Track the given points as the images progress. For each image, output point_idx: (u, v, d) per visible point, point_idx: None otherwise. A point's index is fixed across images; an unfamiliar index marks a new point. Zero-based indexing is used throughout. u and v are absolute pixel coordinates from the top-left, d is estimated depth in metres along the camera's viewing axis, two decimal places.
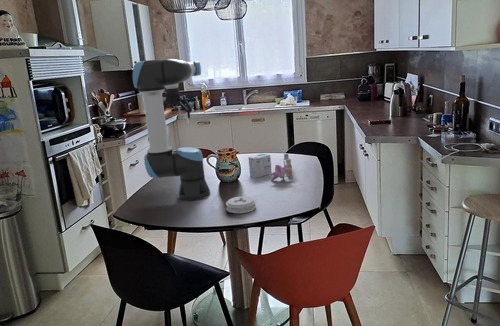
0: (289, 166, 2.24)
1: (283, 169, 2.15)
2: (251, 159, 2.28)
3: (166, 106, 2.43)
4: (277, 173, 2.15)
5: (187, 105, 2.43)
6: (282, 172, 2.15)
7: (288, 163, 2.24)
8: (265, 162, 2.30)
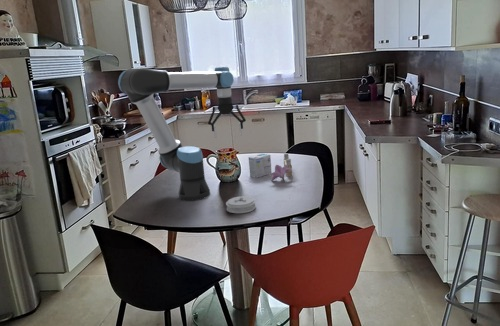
0: (289, 166, 2.24)
1: (283, 169, 2.15)
2: (251, 159, 2.28)
3: (218, 116, 2.27)
4: (277, 173, 2.16)
5: (240, 115, 2.27)
6: (282, 172, 2.16)
7: (288, 163, 2.24)
8: (265, 162, 2.30)
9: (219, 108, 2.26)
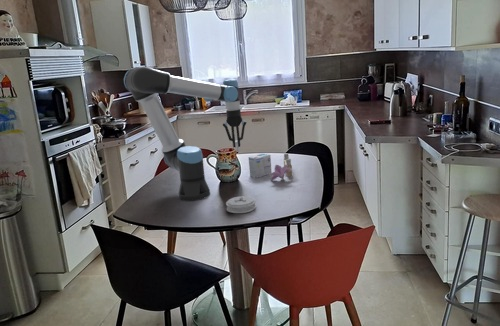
0: (289, 166, 2.24)
1: (283, 169, 2.15)
2: (251, 159, 2.28)
3: (233, 130, 2.26)
4: (277, 173, 2.16)
5: (242, 132, 2.27)
6: (282, 172, 2.16)
7: (288, 163, 2.24)
8: (265, 162, 2.30)
9: (228, 121, 2.25)
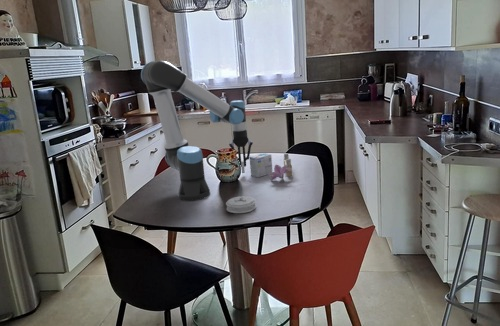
0: (289, 166, 2.24)
1: (282, 169, 2.16)
2: (252, 159, 2.28)
3: (239, 150, 2.29)
4: (276, 173, 2.16)
5: (248, 152, 2.29)
6: (281, 172, 2.16)
7: (288, 163, 2.24)
8: (266, 161, 2.30)
9: (234, 141, 2.28)
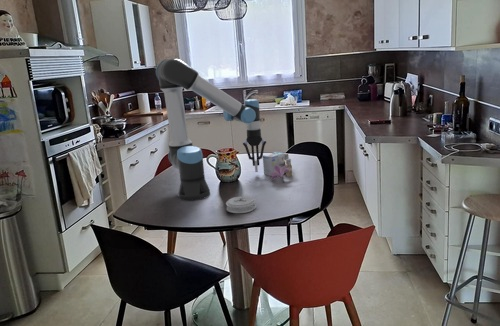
0: (289, 166, 2.24)
1: (282, 169, 2.16)
2: (266, 158, 2.29)
3: (252, 149, 2.29)
4: (276, 173, 2.16)
5: (261, 151, 2.29)
6: (281, 172, 2.16)
7: (288, 163, 2.24)
8: (280, 160, 2.31)
9: (248, 140, 2.28)
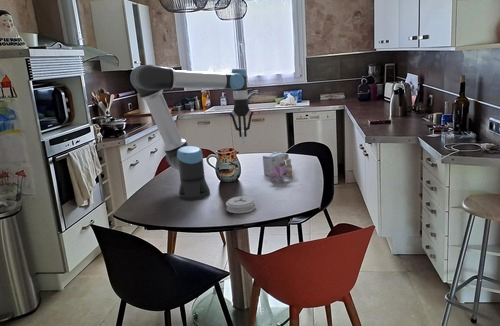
0: (289, 166, 2.24)
1: (281, 169, 2.16)
2: (266, 158, 2.29)
3: (239, 120, 2.25)
4: (275, 173, 2.16)
5: (249, 122, 2.25)
6: (280, 172, 2.16)
7: (288, 163, 2.24)
8: (280, 160, 2.31)
9: (235, 110, 2.24)
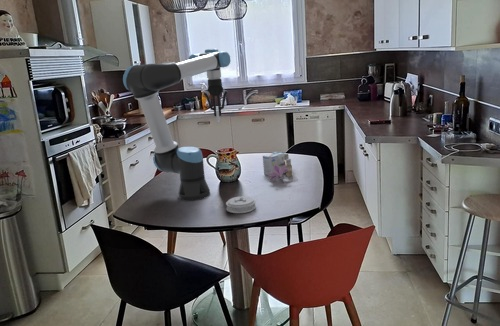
0: (289, 166, 2.24)
1: (281, 169, 2.16)
2: (266, 158, 2.29)
3: (214, 99, 2.31)
4: (275, 173, 2.16)
5: (223, 101, 2.32)
6: (280, 172, 2.16)
7: (288, 163, 2.24)
8: (280, 160, 2.31)
9: (209, 90, 2.30)
